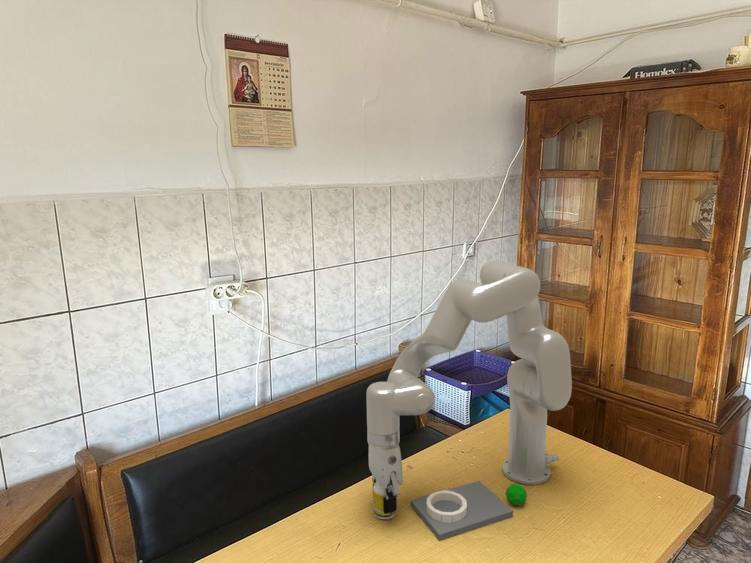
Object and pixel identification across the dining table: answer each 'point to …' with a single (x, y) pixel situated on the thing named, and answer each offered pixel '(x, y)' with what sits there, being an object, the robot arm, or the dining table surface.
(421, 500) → the pin board
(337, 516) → the dining table surface
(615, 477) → the dining table surface
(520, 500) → the polyhedron
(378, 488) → the supplement bottle
